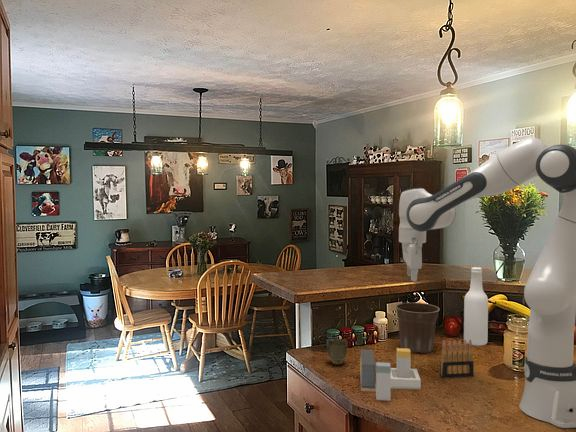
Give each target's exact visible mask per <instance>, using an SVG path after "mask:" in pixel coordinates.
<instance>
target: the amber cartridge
mask: <svg viewBox="0 0 576 432" xmlns="http://www.w3.org/2000/svg"><path fill="white" fill-rule="evenodd" d="M411 354H412V352H411V351H410V349H407V348H401V347H400V348H399V347H396V366H395V368H396V378H411V369H412V368H411V364H412V363H411V362H412V361H411V359H412V357H411Z"/></svg>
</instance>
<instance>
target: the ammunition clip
mask: <svg viewBox="0 0 576 432" xmlns="http://www.w3.org/2000/svg"><path fill="white" fill-rule="evenodd" d="M441 345H442V347H441V356H440V357H441V360H440V371H439V376H440V377H441V378H442V379H447V378H449V379H451V378H468V377H469V378H470V377H471V378H472V377H475V376H474V375H475V374H474V373H475V372H474V369H475V368H474V358H473V356H474V353H473V345H472V342H471V339H470V340H469V344H467V343H466V340H464V339H463V344H462V341H461V339H459V340H458V341H457V342H456V340H455V339H454V340H453V342H452V343H451V339H448V341H447V343H446V340H443V342H442V344H441Z"/></svg>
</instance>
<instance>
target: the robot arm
mask: <svg viewBox="0 0 576 432" xmlns="http://www.w3.org/2000/svg"><path fill="white" fill-rule="evenodd" d="M536 177H539V179H541V180H542V181H543V182H544V183H545V184H547V185H548V186H550V187H551V188H553V189H554V190H555V191H557V192H558V193H560V194H563V202H562V205H561V208H560V210H559V213H558V214H557V217H556V220H555V222H554V224H553V226H552V229H551V231H550V233H549V235H548V238H547V241H546V243H545V244H544V246H543V248H542V251H541V252H540V254H539V256H538V258H537V260H536V262H535V263H534V267H533V268H532V271H531V272H530V275H529V277H528V278H527V281H526V283H525V285H524V290H523V292H524V293H523V296H524V300H525V303H526V305H527V306H528V308H529V309H530V312H529V319H528V325H527V336H526V337H527V339H526V342H527V343H526V345H527V346H526V348H527V349H526V356H525V360H524V371H523V372H524V377H525V383H524V386H523V387H524V390H523V392H522V397H521V400H520V402H519V405H518V406H519V409H520V410H521V411H522V412H523V413H524V414H525V415H527V416H530V417H531V418H534V419H536V420H539V421H542V422H546V423H549V424H552V425H553V426H556V427H557V428H558V427H559V428H562V429H571V428H573V429H574V428H576V362H574V344H575V343H574V341H575V339H574V338H575V326H576V147H575V146H572V145H568V144H555V145H552V146H547V144H546V142H544V141H543V140H542V139H539V138H537V137H533V136H530V137H526V138H524V139H522V140H520V141H517V142H515V143H513V144H511V145H509V146H506V147H505V148H504V149H502V150H501V151H499V152H497V153H496V154H495V155H493V156H491V157H490V158H489V159H487V160H485V161H484V162H483V163H482V164H480V165H479V166H477V167H476V168H475V169H474V170H472V171H470V172H468V174H466V175H465V176H464V177H461V178H460V179H458V180H456V181H455V182H453V183H451V184H450V185H448V186H446V187H444V188H442V189H441V190H440V191H438V192H436V193H434V194H432V193H429V191H427V190H426V189H425V188H422V187H415V188H409V189H405V190H403V191H402V192H401V194H400V197H399V203H398V216H399V224H398V225H399V226H398V243H401V249H402V257H403V260H404V263H405V264H406V269H407V270H406V271H407V274H406V275H407V276H408V277H410V280H411V282H417V281H418V273H419V270H421V269H422V267H423V254H422V252H423V251H422V248H423V244H425V243H427V232H428V231H431V230H438V229H444V228H447V227H449V226H450V225H452V224H453V223H454V221H455V219H456V215H457V214H456V213H457V212H456V207H459V206H460V205H461V204H464V203H466V202H468V201H470V200H473V199H479V198H484V197H492V196H497V195H501V194H504V193H507V192H509V191H512V190H514V189H515V188H517V187H519V186H521V185H522V184H524V183H526V182H527V181H530V180H531V179H533V178H536Z"/></svg>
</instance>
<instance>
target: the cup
mask: <svg viewBox="0 0 576 432" xmlns="http://www.w3.org/2000/svg"><path fill="white" fill-rule="evenodd" d="M325 343H326V350H327V356H328V358H329V359H330V360H331V363H332V364H333V366H334V365H335V366H340V365H342V364H343V360H344V359H346V356H347V351H348V345H349V344H348V341H347V339H345V340H344V338H343V339H342V340H341V338H336V339H335V338H332V339H331V338H329V339H326V342H325Z"/></svg>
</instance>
